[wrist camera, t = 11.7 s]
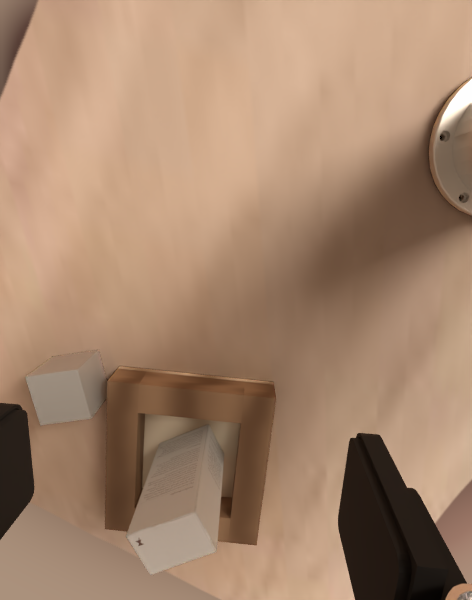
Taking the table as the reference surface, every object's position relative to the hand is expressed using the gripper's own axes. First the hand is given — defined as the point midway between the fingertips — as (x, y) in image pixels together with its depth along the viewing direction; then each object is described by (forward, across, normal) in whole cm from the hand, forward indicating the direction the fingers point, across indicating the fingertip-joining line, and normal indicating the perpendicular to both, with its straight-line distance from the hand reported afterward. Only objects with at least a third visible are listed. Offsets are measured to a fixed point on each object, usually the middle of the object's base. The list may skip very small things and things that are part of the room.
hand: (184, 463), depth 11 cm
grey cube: (+26, +16, +11) cm, 33 cm away
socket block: (+26, +4, +19) cm, 32 cm away
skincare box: (+26, +4, +18) cm, 32 cm away
